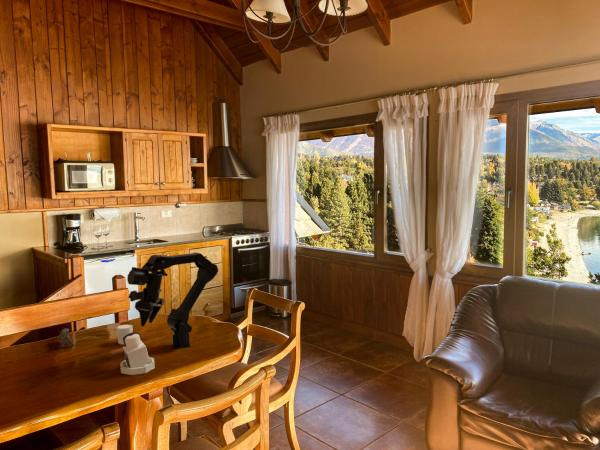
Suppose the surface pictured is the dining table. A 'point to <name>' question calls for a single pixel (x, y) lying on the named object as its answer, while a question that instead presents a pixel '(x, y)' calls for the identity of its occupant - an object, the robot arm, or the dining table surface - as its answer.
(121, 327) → the shot glass
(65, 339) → the dog figurine
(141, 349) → the medicine bottle
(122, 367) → the bowl
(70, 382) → the dining table surface
